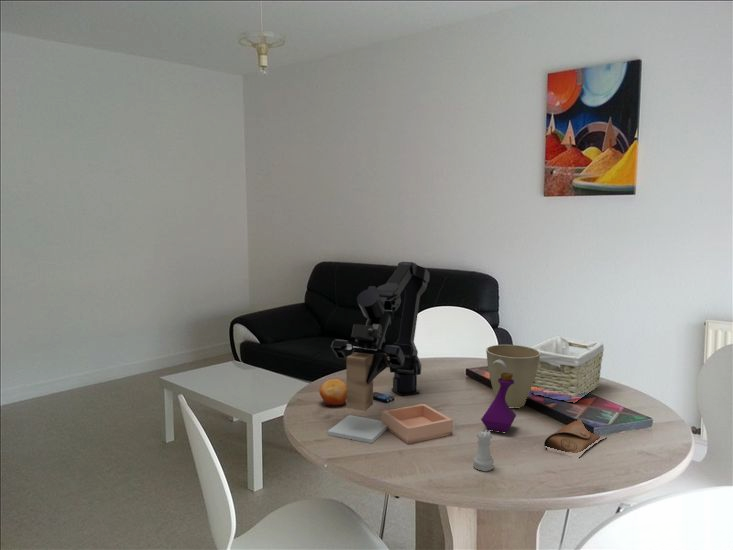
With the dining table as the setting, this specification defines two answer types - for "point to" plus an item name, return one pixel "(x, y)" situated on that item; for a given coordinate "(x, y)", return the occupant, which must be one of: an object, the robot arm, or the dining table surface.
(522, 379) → the plant pot
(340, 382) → the fruit
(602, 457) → the dining table surface
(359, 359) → the walnut block
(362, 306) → the robot arm
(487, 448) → the rook chess piece
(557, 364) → the storage basket
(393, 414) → the box
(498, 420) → the perfume bottle
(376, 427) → the light grey board
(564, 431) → the sunglasses case
